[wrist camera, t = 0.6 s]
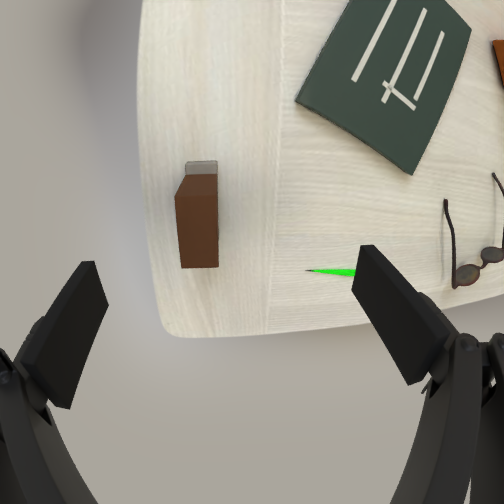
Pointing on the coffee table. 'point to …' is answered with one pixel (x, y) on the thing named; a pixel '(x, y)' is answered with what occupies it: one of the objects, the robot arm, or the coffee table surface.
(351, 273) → the leaf
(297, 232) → the coffee table surface
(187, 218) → the eraser
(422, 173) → the coffee table surface
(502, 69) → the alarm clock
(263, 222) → the coffee table surface
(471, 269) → the eyeglasses
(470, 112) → the coffee table surface
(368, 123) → the chalkboard
